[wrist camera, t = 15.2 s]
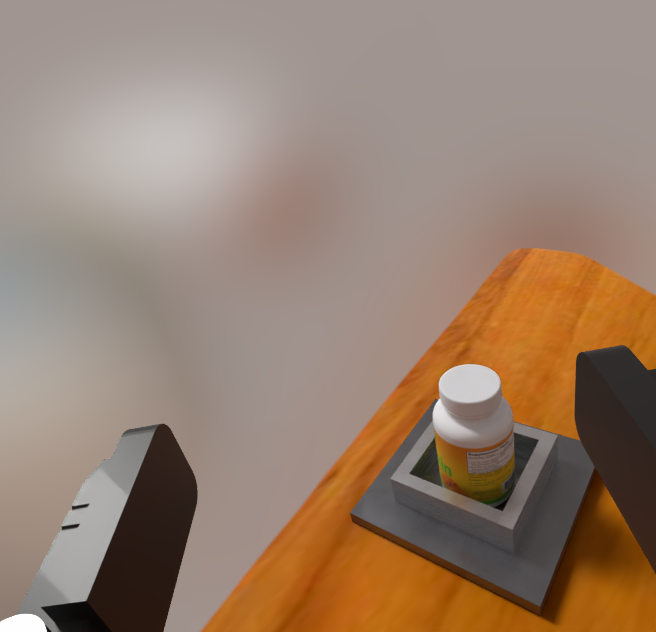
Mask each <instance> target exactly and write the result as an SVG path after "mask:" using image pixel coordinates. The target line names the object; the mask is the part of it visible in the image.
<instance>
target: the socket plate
mask: <svg viewBox="0 0 656 632" xmlns="http://www.w3.org/2000/svg"><path fill="white" fill-rule="evenodd" d="M437 401H438V399H435V400H434V402H433V403H432V404H431V406H430V407H429V408H428V410H427V411H426V412H425V414H424V415H423V416H422V418H421V419H420V420H419V422H418V423H417V424H416V426H415V427H414V428H413V430H412V431H411V432H410V434H409V435H408V436H407V438H406V439H405V440H404V442H403V443H402V444H401V446H400V447H399V448H398V450H397V451H396V452H395V454H394V455H393V456H392V458H391V459H390V460H389V462H388V463H387V464H386V466H385V467H384V468H383V470H382V471H381V472H380V474H379V475H378V476H377V478H376V479H375V480H374V482H373V483H372V484H371V486H370V487H369V488H368V490H367V491H366V492H365V494H364V495H363V496H362V498H361V499H360V500H359V502H358V503H357V504H356V506H355V507H354V508H353V510H352V511H351V512H350V515H351V518H352V521H353V522H355V523H357V524H359V525H361V526H363V527H365V528H367V529H369V530H371V531H373V532H375V533H377V534H378V535H380V536H382V537H384V538H386V539H388V540H390V541H392V542H394V543H396V544H398V545H400V546H402V547H404V548H406V549H408V550H410V551H412V552H414V553H416V554H418V555H420V556H422V557H424V558H426V559H428V560H430V561H432V562H434V563H436V564H438V565H440V566H442V567H444V568H446V569H448V570H450V571H452V572H454V573H456V574H458V575H460V576H462V577H464V578H466V579H468V580H470V581H472V582H474V583H476V584H478V585H480V586H482V587H484V588H486V589H488V590H490V591H492V592H494V593H496V594H498V595H500V596H502V597H504V598H506V599H508V600H510V601H512V602H514V603H516V604H518V605H519V606H521V607H523V608H525V609H527V610H529V611H531V612H533V613H535V614H537V615H539V616H540V615H541V613H542V610H543V608H544V605H545V602H546V600H547V597H548V595H549V592H550V589H551V587H552V584H553V582H554V579H555V576H556V574H557V571H558V569H559V566H560V563H561V561H562V558H563V556H564V553H565V550H566V548H567V545H568V543H569V540H570V537H571V535H572V532H573V530H574V527H575V524H576V522H577V519H578V517H579V514H580V511H581V509H582V506H583V504H584V501H585V498H586V496H587V493H588V491H589V488H590V485H591V483H592V480H593V478H594V475H595V472H596V468H595V466H594V465H593V463H592V461H591V459H590V458H589V456H588V454H587V452H586V451H585V449H584V447H583V445H582V443H581V441H579V440H576V439H572V438H569V437H565V436H562V435H558V434H555V433H551V432H548V431H545V430H541V429H538V428H534V427H531V426H527V425H524V424H520V423H517V422H514V455H515V485H514V489H513V492H512V493H511V495H510V496H509V498H508V499H507V500H506V501H504V502H503V503H502V504H500V505H498V506H496V507H491V506H488V505H486V504H483V503H481V502H478V501H476V500H473V499H471V498H468V497H466V496H463V495H461V494H458V493H456V492H453V491H451V490H448V489H446V488H443V486H442V483H441V478H440V471H439V463H438V456H437V448H436V441H435V434H434V427H433V410H434V407H435V405H436V403H437Z"/></svg>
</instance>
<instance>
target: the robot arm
mask: <svg viewBox="0 0 656 632" xmlns="http://www.w3.org/2000/svg"><path fill="white" fill-rule="evenodd" d="M575 422H576V427H577V431H578V435H579V438H580V440H581V443H582V445H583V447H584V449H585V451H586V452H587V454H588V456H589V458H590V459H591V461H592V463H593V465H594V466H595V468H596V470H597V472H598V473H599V475H600V477H601V479H602V480H603V482H604V484H605V486H606V487H607V489H608V491H609V493H610V494H611V496H612V498H613V500H614V501H615V503H616V505H617V507H618V508H619V510H620V512H621V514H622V516H623V517H624V519H625V521H626V523H627V524H628V526H629V528H630V530H631V531H632V533H633V535H634V537H635V538H636V540H637V542H638V544H639V545H640V547H641V549H642V551H643V552H644V554H645V556H646V558H647V559H648V561H649V563H650V565H651V566H652V568H653V570H654V572H655V573H656V369H653V370H647V369H646V368H645V367H644V365H643V364H642V363H641V362H640V361H639V360H638V358H637V357H636V356H635V355H634V354H633V353H632V351H631V350H630V349H629V348H627V347H626V346H624V345H621V346H615V347H609V348H603V349H598V350H592V351H586V352H581V353H579V354H578V356H577V360H576V384H575ZM196 504H197V484H196V479H195V476H194V474H193V471H192V469H191V467H190V466H189V464H188V462H187V460H186V458H185V456H184V454H183V452H182V450H181V448H180V446H179V444H178V443H177V441H176V439H175V437H174V435H173V433H172V431H171V429H170V428H169V427H168V426H167V425H165V424H158V425H152V426H147V427H141V428H135V429H129V430H127V431H125V432H124V433H123V435H122V436H121V438H120V441H119V443H118V445H117V447H116V449H115V451H114V453H113V455H112V457H111V459H106V460H103V461H102V463H101V464H100V465H99V466H98V467H97V468H96V469H95V470H94V471H93V473H92V474H91V475H90V476H89V477H88V478H87V480H86V481H84V483H83V485H82V487H81V489H80V491H79V493H78V495H77V497H76V499H75V501H74V503H73V505H72V511H69V512H68V514H67V516H66V518H65V520H64V522H63V524H62V531H59V532H58V534H57V536H56V538H55V540H54V542H53V544H52V546H51V548H50V550H49V552H48V554H47V556H46V558H45V560H44V562H43V564H42V566H41V567H40V569H39V571H38V573H37V575H36V577H35V579H34V581H33V583H32V585H31V587H30V589H29V591H28V593H27V595H26V597H25V599H24V601H23V603H22V605H21V607H20V609H19V610H18V612H17V614H16V616H14V617H10V618H8V619H6V620H4V621H2V622H0V632H163V631H164V627H165V623H166V619H167V615H168V612H169V608H170V604H171V600H172V596H173V593H174V589H175V585H176V581H177V577H178V573H179V569H180V565H181V562H182V558H183V554H184V551H185V546H186V543H187V539H188V535H189V532H190V528H191V524H192V520H193V516H194V512H195V509H196Z"/></svg>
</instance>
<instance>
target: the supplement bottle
mask: <svg viewBox="0 0 656 632" xmlns="http://www.w3.org/2000/svg"><path fill="white" fill-rule="evenodd" d="M439 392H440V399H439V400H438V401H437V403H436V405H435V407H434V410H433V427H434V434H435V441H436V448H437V456H438V463H439V471H440V478H441V483H442V486H443V488H446V489H448V490H451V491H453V492H456V493H458V494H461V495H463V496H466V497H468V498H471V499H473V500H476V501H478V502H481V503H483V504H486V505H488V506H491V507H496V506H498V505H500V504H502V503H503V502H504V501H506V500H507V499H508V498H509V496H510V495H511V493H512V492H513V489H514V485H515V455H514V421H513V413H512V410H511V407H510V405H509V403H508V402H507V401H506V399H505V398H504V397H503V396H502V390H501V381H500V378H499V376H498V375H497V374H496V373H495V372H494V371H493V370H491V369H489V368H487V367H485V366H481V365H474V364H467V365H460V366H456V367H454V368H452V369H450V370H448V371H447V372H445V373H444V374H443V376H442V377H441V379H440V381H439Z"/></svg>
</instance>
